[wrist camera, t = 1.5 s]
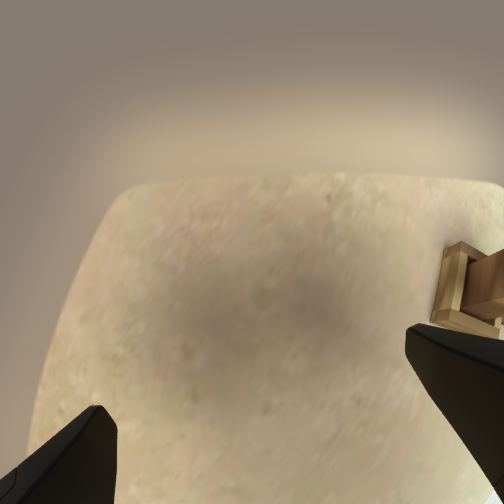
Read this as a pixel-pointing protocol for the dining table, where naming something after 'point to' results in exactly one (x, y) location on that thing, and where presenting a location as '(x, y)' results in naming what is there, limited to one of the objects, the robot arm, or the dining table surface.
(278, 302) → the dining table surface
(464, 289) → the brown wooden block
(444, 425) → the dining table surface
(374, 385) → the dining table surface
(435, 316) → the wooden box with frame
